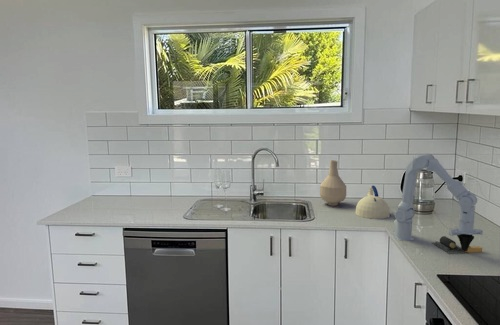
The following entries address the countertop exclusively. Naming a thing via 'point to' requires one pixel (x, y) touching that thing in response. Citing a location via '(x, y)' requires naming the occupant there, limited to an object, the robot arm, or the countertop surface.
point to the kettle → (372, 206)
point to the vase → (333, 186)
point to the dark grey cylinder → (447, 242)
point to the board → (448, 248)
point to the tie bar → (474, 249)
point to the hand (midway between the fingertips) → (464, 250)
